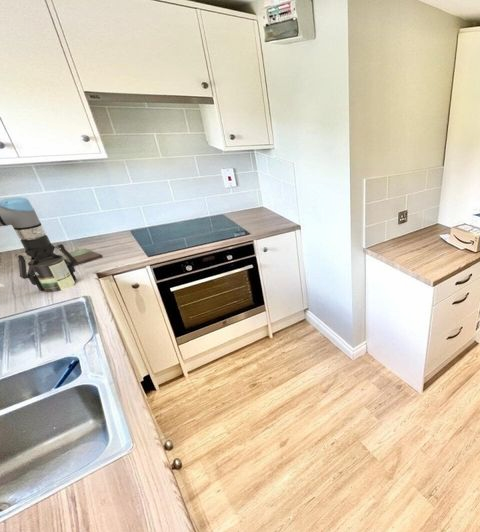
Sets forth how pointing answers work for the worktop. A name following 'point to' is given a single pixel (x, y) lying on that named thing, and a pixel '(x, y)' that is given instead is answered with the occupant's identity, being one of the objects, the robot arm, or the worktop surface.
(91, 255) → the serving board
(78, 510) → the worktop surface
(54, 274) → the coffee can
